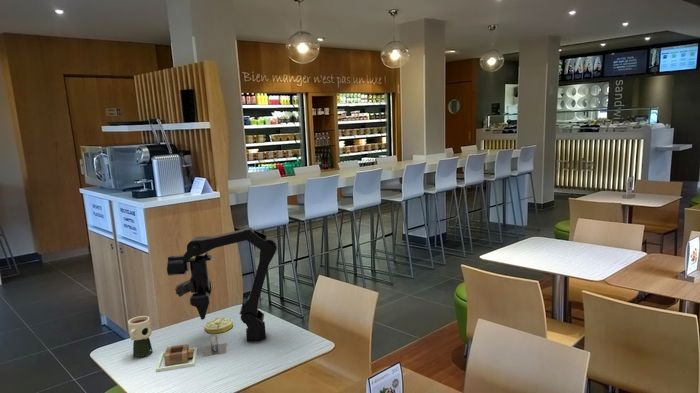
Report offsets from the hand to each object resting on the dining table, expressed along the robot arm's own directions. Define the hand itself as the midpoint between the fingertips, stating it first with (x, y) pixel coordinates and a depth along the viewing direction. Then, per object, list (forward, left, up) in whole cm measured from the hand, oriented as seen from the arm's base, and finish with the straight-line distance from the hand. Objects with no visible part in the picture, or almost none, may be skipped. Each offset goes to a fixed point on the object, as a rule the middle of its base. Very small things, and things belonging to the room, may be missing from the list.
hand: (203, 314), depth 170 cm
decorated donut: (-4, -13, -12) cm, 18 cm away
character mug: (+22, -1, -12) cm, 25 cm away
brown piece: (+9, +10, -11) cm, 18 cm away
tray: (+9, +10, -12) cm, 18 cm away
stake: (-3, +6, -12) cm, 14 cm away
